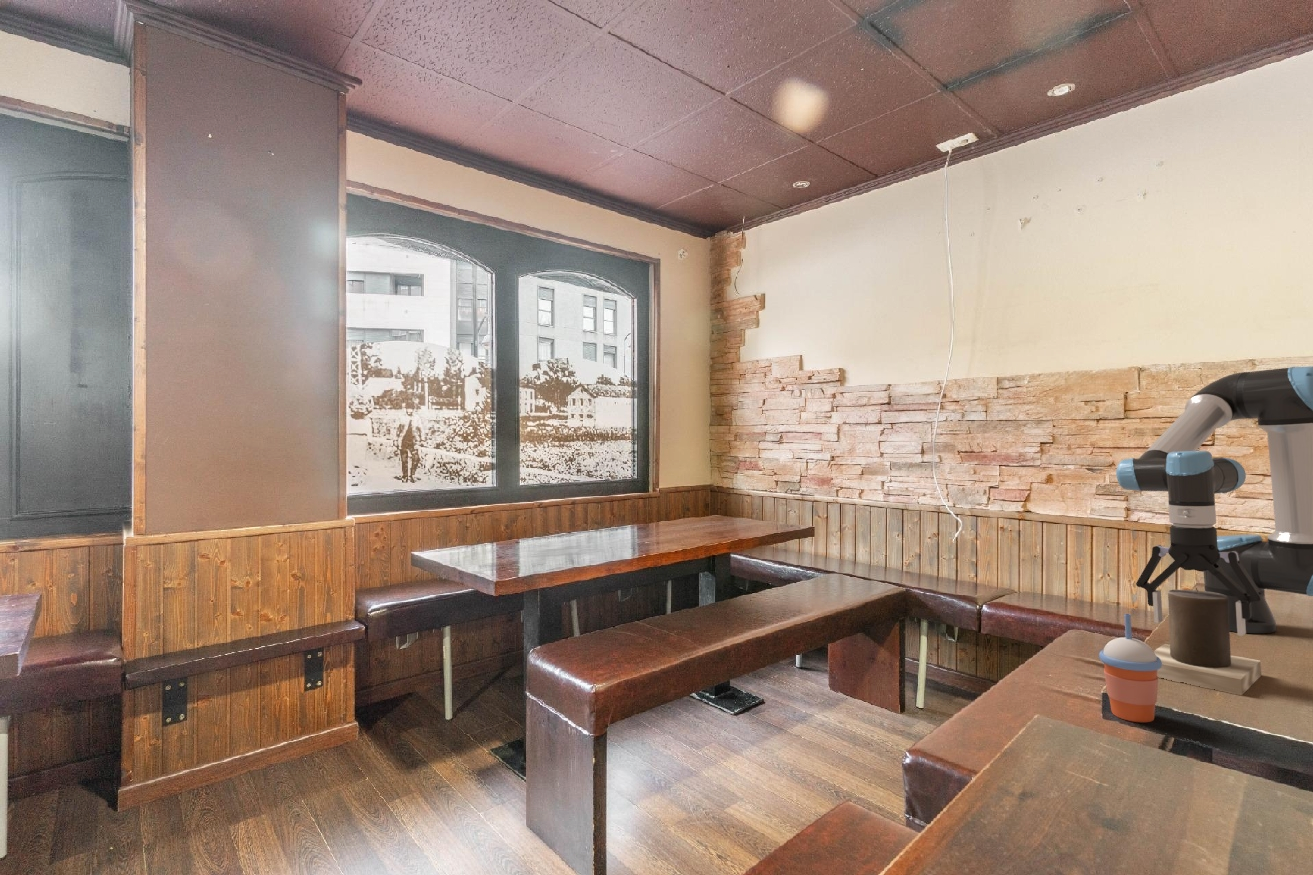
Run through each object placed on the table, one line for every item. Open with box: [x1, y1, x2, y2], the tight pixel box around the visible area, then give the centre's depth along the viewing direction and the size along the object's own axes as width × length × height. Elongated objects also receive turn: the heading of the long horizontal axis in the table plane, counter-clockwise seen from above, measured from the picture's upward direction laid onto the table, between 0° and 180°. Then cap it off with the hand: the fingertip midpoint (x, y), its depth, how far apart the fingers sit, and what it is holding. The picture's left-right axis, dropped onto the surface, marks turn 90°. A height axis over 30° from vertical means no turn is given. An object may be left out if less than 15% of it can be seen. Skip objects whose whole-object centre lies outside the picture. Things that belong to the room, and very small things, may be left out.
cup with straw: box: [1098, 613, 1162, 723], centre depth 116 cm, size 9×9×18 cm
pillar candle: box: [1167, 587, 1232, 668], centre depth 135 cm, size 10×10×15 cm
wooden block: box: [1153, 643, 1262, 696], centre depth 135 cm, size 16×16×3 cm
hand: (1198, 628), depth 135 cm, fingers open, 13 cm apart
